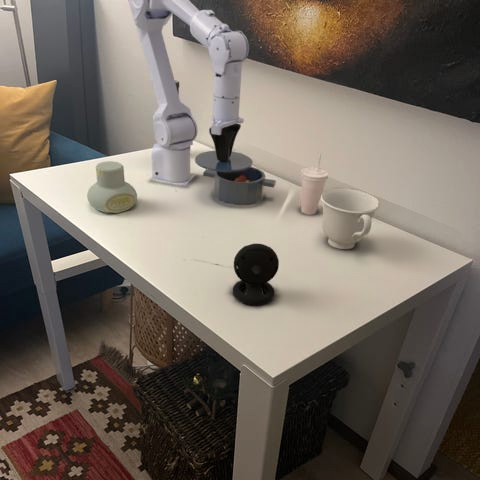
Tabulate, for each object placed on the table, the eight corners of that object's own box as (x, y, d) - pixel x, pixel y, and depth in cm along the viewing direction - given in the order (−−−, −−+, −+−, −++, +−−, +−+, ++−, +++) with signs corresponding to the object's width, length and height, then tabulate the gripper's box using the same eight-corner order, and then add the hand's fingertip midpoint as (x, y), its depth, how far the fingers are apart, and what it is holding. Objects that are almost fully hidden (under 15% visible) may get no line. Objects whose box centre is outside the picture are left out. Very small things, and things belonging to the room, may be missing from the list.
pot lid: (243, 178, 110) (245, 159, 108) (186, 169, 112) (186, 150, 110) (258, 160, 121) (259, 142, 118) (205, 151, 123) (206, 133, 120)
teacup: (332, 266, 99) (342, 220, 94) (305, 232, 111) (311, 189, 105) (386, 261, 103) (398, 216, 97) (354, 228, 114) (363, 186, 108)
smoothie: (323, 217, 118) (333, 158, 109) (296, 216, 118) (304, 156, 109) (320, 206, 123) (329, 149, 115) (294, 204, 123) (302, 147, 114)
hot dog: (240, 202, 121) (241, 187, 118) (227, 200, 121) (228, 184, 119) (249, 190, 127) (250, 175, 125) (236, 188, 128) (237, 173, 125)
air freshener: (98, 220, 109) (93, 175, 103) (83, 206, 114) (77, 163, 108) (143, 210, 115) (141, 167, 109) (127, 197, 120) (124, 156, 114)
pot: (267, 212, 118) (270, 188, 114) (196, 200, 121) (196, 176, 117) (277, 193, 128) (280, 170, 124) (211, 182, 131) (212, 160, 127)
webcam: (272, 283, 93) (278, 235, 87) (276, 307, 87) (283, 256, 81) (231, 282, 92) (234, 233, 86) (232, 305, 86) (235, 254, 80)
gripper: (235, 105, 101) (231, 171, 109) (252, 91, 113) (248, 151, 121) (202, 101, 103) (201, 166, 111) (223, 87, 114) (220, 147, 122)
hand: (223, 158), depth 116 cm, fingers closed on pot lid, 2 cm apart
